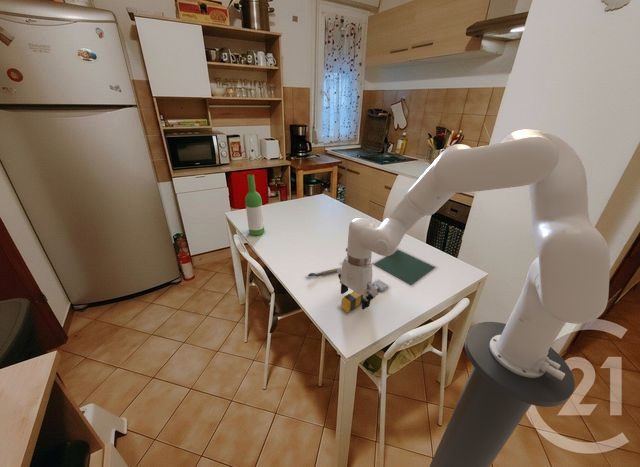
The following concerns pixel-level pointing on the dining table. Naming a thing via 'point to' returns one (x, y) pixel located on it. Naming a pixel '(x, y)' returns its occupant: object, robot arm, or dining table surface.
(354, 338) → the dining table surface
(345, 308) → the yellow striped handle
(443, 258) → the dining table surface
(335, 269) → the tomahawk
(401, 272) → the mat
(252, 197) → the wine bottle
